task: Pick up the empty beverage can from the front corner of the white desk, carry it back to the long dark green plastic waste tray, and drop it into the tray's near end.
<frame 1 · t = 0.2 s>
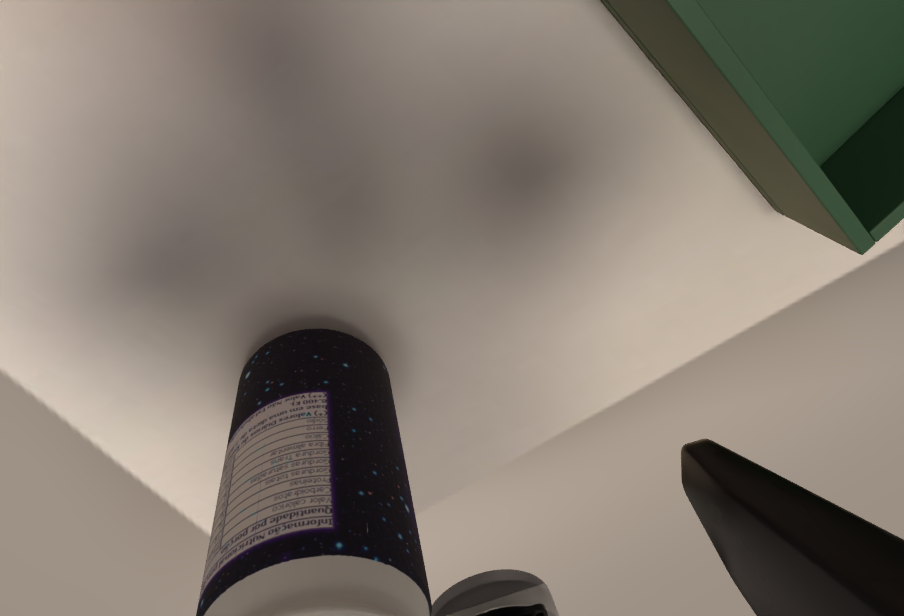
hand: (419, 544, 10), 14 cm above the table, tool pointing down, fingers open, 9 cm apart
beverage can: (316, 376, 24), on the table
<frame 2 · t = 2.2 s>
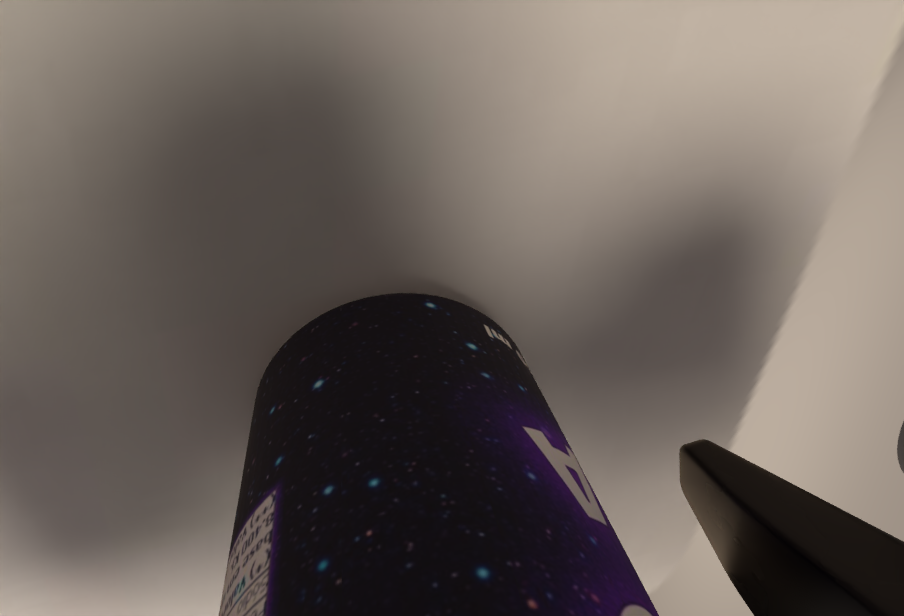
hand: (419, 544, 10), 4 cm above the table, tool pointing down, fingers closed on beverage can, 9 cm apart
beverage can: (392, 385, 14), on the table, touching gripper
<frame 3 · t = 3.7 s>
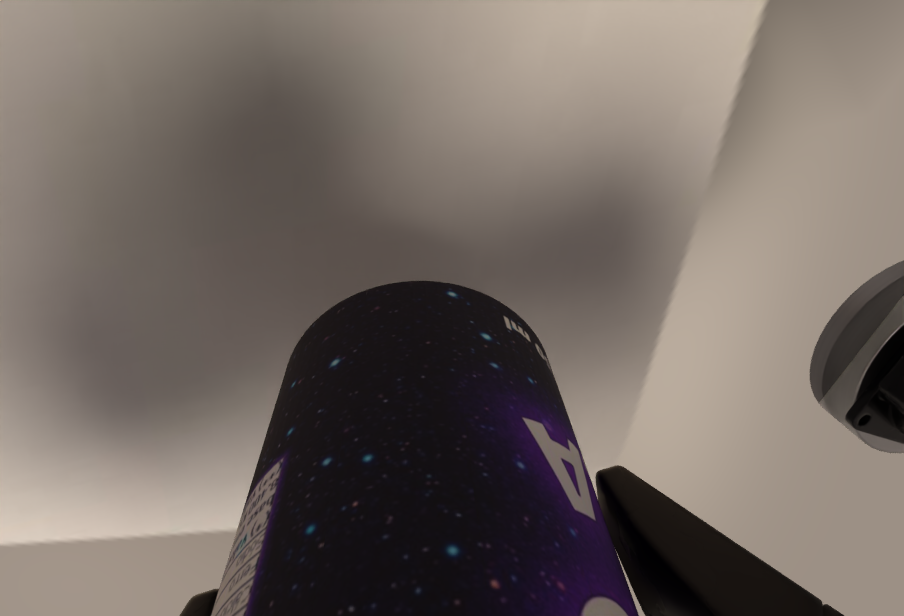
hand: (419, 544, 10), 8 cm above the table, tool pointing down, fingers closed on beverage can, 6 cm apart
beverage can: (419, 369, 14), point 4 cm above the table, touching gripper
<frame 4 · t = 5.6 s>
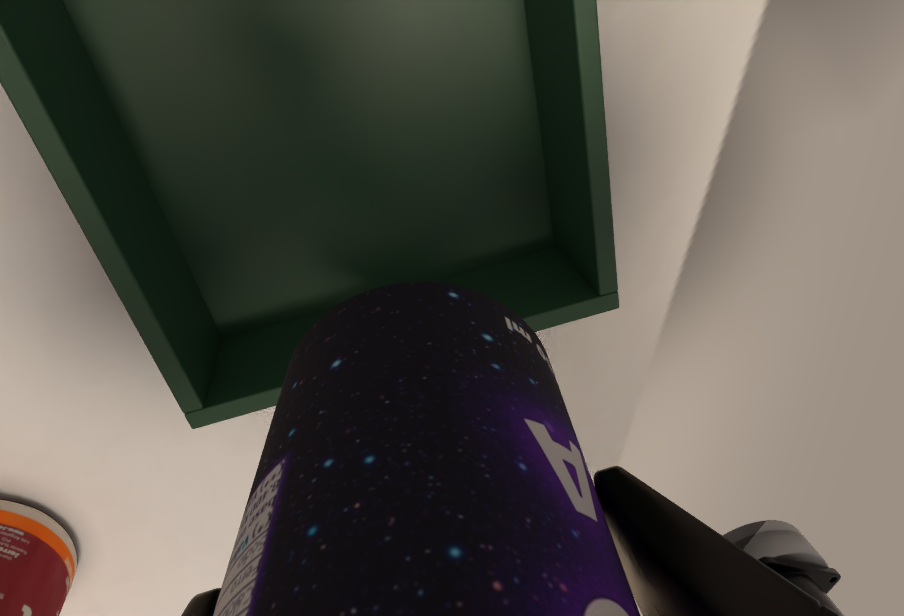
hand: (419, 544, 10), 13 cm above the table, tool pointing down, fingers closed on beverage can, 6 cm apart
beverage can: (420, 370, 14), point 8 cm above the table, touching gripper
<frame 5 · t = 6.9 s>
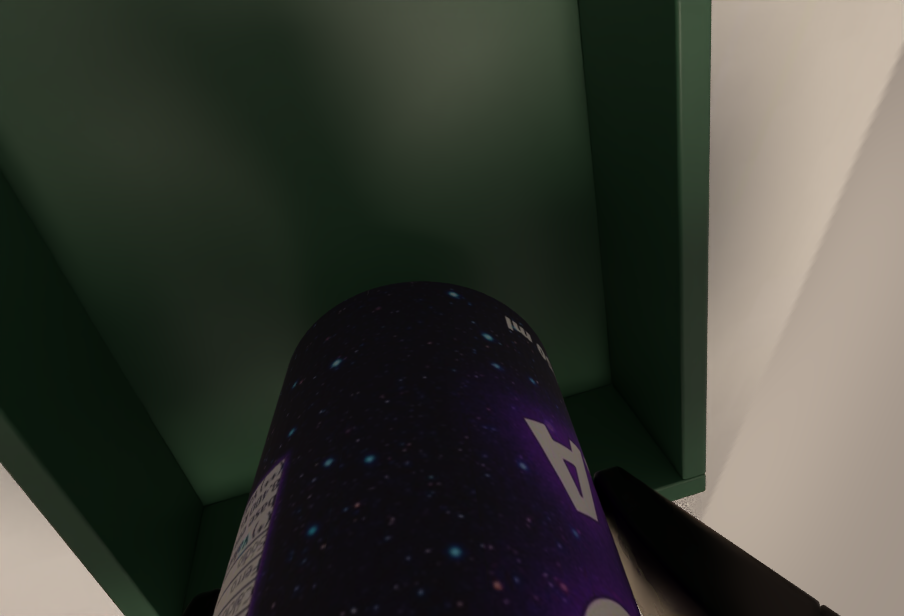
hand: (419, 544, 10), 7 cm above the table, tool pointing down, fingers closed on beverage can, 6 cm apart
beverage can: (420, 369, 14), point 2 cm above the table, touching gripper
when the fingers open (6 cm above the table, at t = 7.8 s): beverage can stays where it is, resting on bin.
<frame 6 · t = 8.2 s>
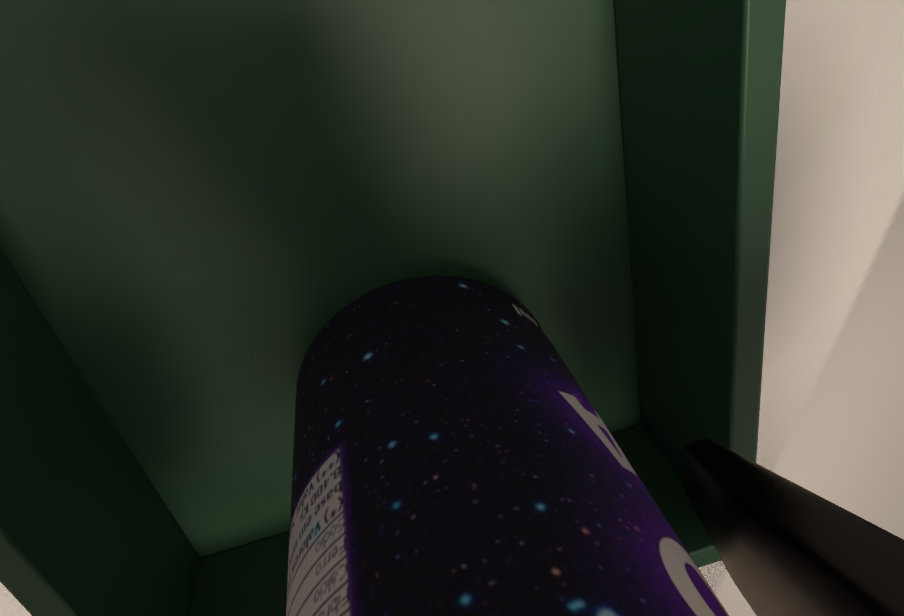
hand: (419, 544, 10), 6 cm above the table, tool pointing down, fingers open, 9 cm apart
beverage can: (421, 364, 14), resting on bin
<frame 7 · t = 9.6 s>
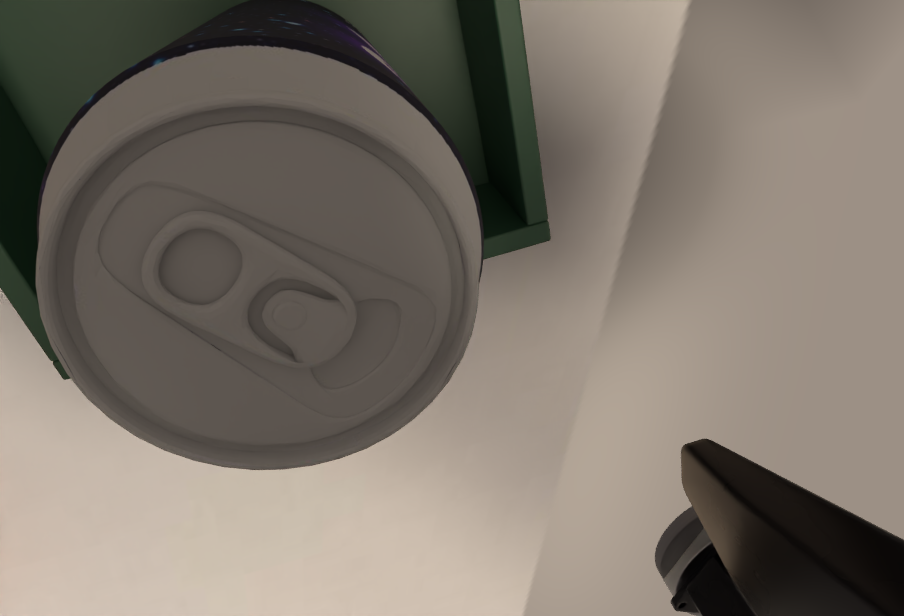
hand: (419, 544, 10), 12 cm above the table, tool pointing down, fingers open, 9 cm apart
beverage can: (291, 106, 17), resting on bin
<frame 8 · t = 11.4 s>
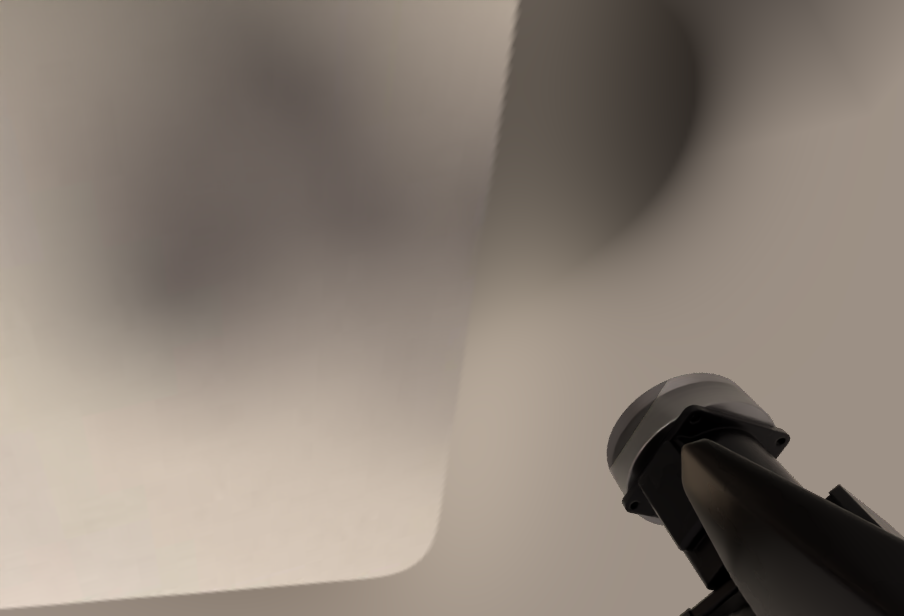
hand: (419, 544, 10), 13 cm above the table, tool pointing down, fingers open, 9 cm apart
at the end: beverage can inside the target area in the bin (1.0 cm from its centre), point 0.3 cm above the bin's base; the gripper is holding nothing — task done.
